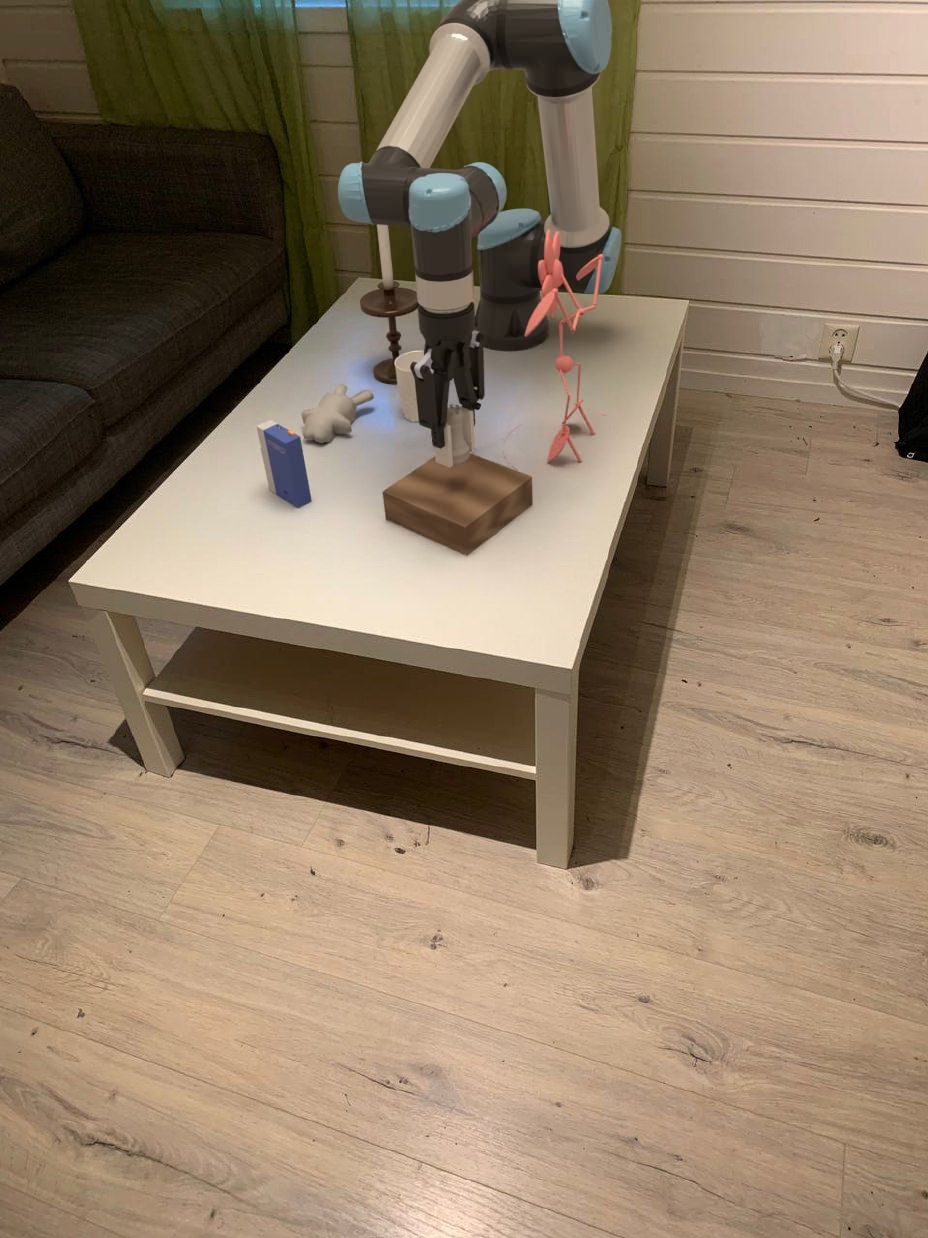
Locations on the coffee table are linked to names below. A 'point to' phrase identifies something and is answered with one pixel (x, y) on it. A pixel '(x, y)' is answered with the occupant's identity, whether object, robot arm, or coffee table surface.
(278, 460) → the walkman
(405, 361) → the white cup
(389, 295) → the candlestick
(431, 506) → the walnut base
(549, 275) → the figurine
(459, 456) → the rook chess piece
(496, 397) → the coffee table surface
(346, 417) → the bunny figurine
